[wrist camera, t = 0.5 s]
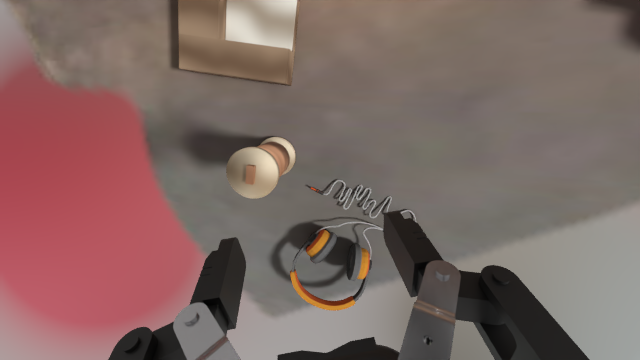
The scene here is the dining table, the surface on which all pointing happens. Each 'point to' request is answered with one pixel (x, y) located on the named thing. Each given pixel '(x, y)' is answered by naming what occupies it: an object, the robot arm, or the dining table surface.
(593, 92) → the dining table surface
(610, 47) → the dining table surface
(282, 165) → the bobbin
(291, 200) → the dining table surface
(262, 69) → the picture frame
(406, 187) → the dining table surface
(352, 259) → the headphones
